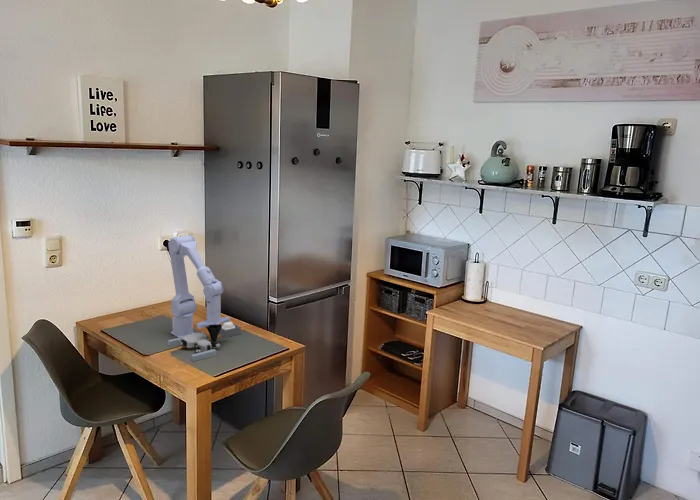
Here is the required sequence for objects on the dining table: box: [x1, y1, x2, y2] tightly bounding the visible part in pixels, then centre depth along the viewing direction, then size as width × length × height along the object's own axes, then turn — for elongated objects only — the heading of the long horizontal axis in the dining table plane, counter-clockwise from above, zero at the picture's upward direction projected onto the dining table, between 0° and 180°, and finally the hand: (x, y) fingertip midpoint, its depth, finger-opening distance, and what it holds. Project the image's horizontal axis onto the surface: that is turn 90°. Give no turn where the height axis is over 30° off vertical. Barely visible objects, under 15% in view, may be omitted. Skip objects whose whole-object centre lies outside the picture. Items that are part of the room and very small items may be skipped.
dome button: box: [221, 320, 235, 330], centre depth 240 cm, size 6×6×5 cm
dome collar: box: [218, 322, 242, 339], centre depth 240 cm, size 8×8×3 cm
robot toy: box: [176, 331, 221, 354], centre depth 222 cm, size 12×4×15 cm
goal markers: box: [167, 337, 218, 362], centre depth 220 cm, size 22×10×2 cm, turn 44°
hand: (213, 341), depth 227 cm, fingers closed
